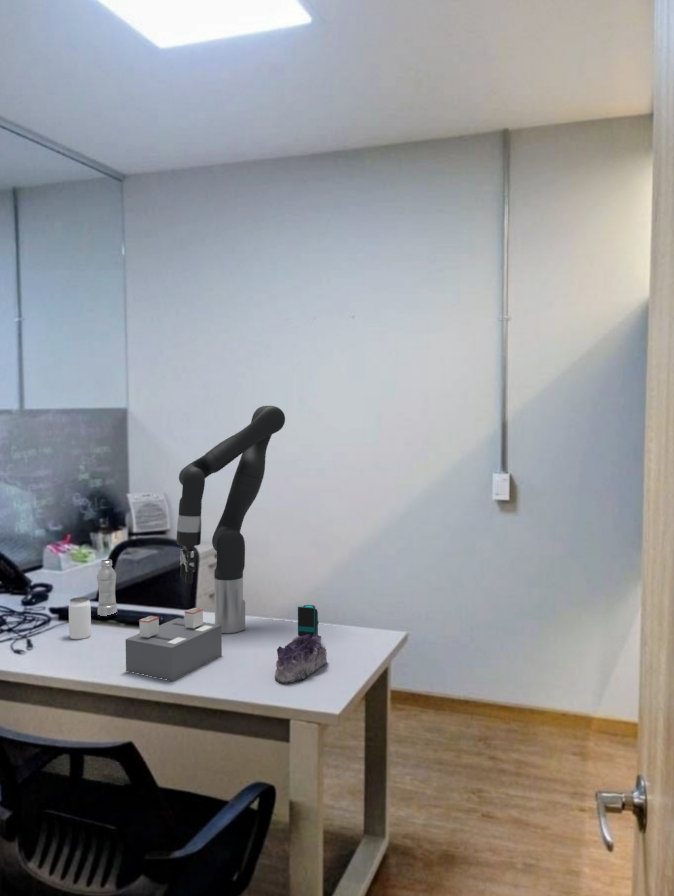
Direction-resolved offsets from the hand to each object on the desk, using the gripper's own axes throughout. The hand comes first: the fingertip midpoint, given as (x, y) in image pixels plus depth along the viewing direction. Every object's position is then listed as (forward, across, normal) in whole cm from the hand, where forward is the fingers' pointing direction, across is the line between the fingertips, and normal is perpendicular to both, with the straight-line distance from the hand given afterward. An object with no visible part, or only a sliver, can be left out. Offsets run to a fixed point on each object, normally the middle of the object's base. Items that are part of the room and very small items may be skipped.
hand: (186, 580), depth 222 cm
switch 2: (+9, -21, +1) cm, 23 cm away
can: (+20, +12, +30) cm, 38 cm away
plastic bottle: (+19, +30, +21) cm, 41 cm away
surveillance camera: (+16, -21, -35) cm, 44 cm away
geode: (+17, -43, -24) cm, 52 cm away
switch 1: (+10, -25, +14) cm, 30 cm away
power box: (+18, -24, +7) cm, 31 cm away
